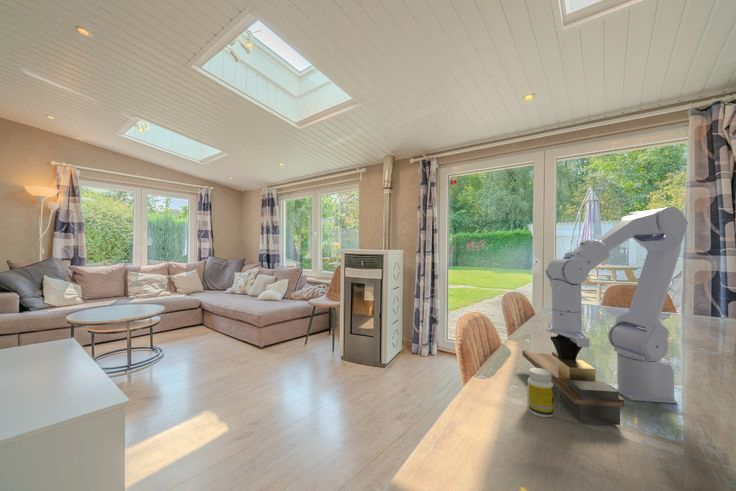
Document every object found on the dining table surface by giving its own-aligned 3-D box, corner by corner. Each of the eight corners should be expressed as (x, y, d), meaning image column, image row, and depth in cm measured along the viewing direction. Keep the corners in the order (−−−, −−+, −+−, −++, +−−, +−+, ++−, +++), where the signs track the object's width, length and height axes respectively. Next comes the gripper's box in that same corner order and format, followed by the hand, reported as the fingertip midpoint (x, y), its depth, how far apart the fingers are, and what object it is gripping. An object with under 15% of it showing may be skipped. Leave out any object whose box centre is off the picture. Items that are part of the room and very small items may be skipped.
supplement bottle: (557, 419, 60) (557, 376, 60) (532, 416, 61) (531, 374, 61) (548, 407, 65) (548, 367, 65) (524, 405, 66) (524, 366, 66)
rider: (582, 378, 68) (582, 360, 68) (595, 388, 63) (595, 369, 64) (558, 376, 69) (558, 359, 69) (569, 386, 64) (569, 367, 64)
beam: (555, 369, 85) (554, 346, 85) (624, 425, 57) (624, 392, 57) (522, 367, 86) (522, 345, 86) (575, 421, 58) (575, 389, 59)
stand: (584, 387, 75) (584, 371, 75) (605, 403, 67) (605, 385, 67) (526, 384, 77) (526, 368, 77) (540, 399, 69) (540, 381, 69)
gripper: (535, 304, 78) (535, 357, 78) (563, 315, 64) (563, 381, 63) (565, 305, 77) (565, 359, 77) (600, 317, 63) (601, 383, 62)
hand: (567, 369), depth 70 cm, fingers closed
